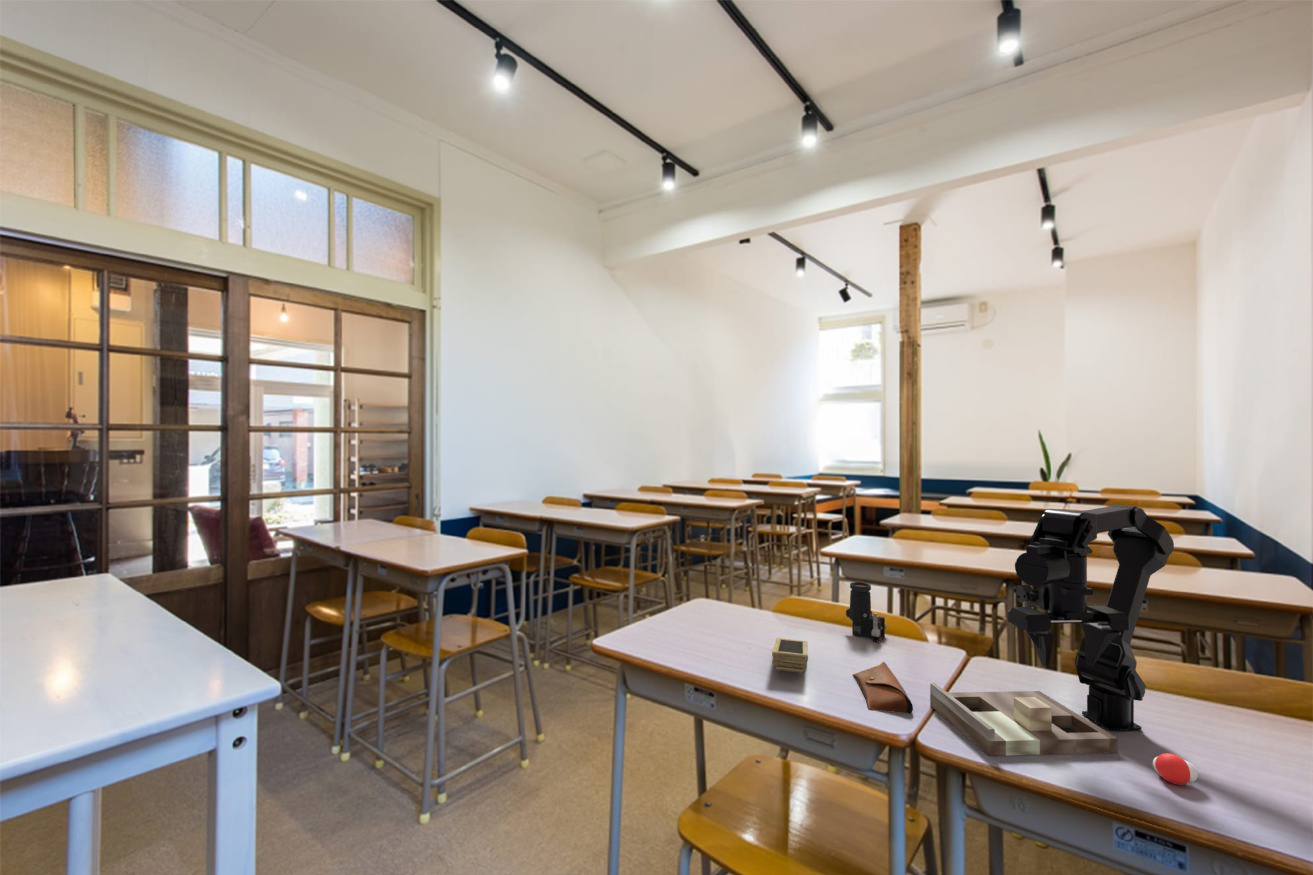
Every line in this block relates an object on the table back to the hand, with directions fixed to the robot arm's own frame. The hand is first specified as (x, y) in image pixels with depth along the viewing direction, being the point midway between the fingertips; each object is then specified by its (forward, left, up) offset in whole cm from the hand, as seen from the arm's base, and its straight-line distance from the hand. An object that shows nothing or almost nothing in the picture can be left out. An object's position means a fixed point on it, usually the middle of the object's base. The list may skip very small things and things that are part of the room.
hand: (1067, 665), depth 100 cm
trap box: (+7, -4, -13) cm, 15 cm away
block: (+7, 0, -10) cm, 12 cm away
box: (+40, -35, -13) cm, 55 cm away
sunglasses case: (+26, -19, -14) cm, 35 cm away
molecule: (-7, +13, -13) cm, 20 cm away
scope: (+14, -53, -13) cm, 56 cm away
